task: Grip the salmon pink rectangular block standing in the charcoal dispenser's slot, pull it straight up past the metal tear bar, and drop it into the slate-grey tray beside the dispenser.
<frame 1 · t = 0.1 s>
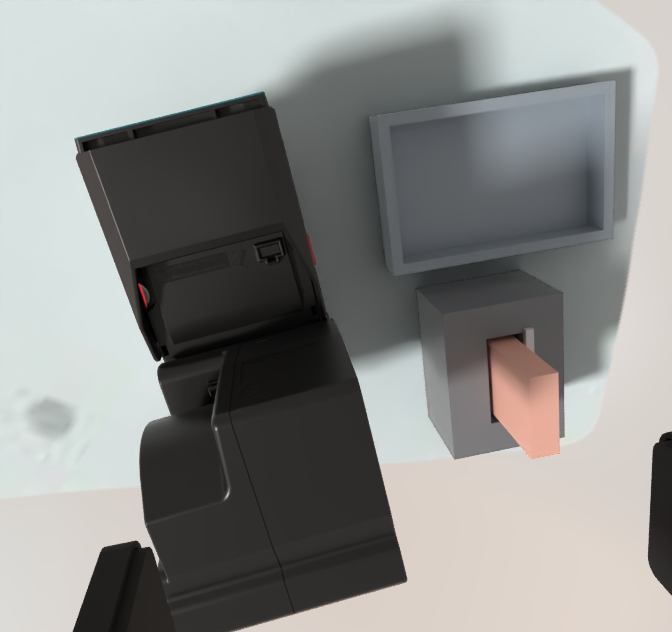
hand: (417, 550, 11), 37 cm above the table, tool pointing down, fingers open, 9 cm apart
bill acceptor: (242, 268, 46), on the table
tray: (486, 177, 46), on the table
dispenser: (473, 345, 51), on the table
salmon pink rectangular block: (477, 349, 50), point 1 cm above the table, touching dispenser
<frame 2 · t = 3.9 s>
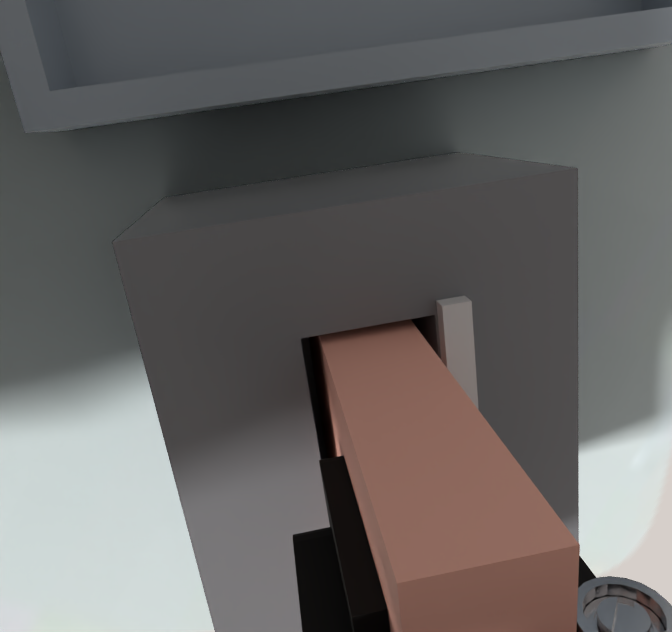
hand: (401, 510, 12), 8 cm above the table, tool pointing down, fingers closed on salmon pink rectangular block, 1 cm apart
dispenser: (341, 356, 20), on the table
salmon pink rectangular block: (343, 356, 18), point 1 cm above the table, touching gripper
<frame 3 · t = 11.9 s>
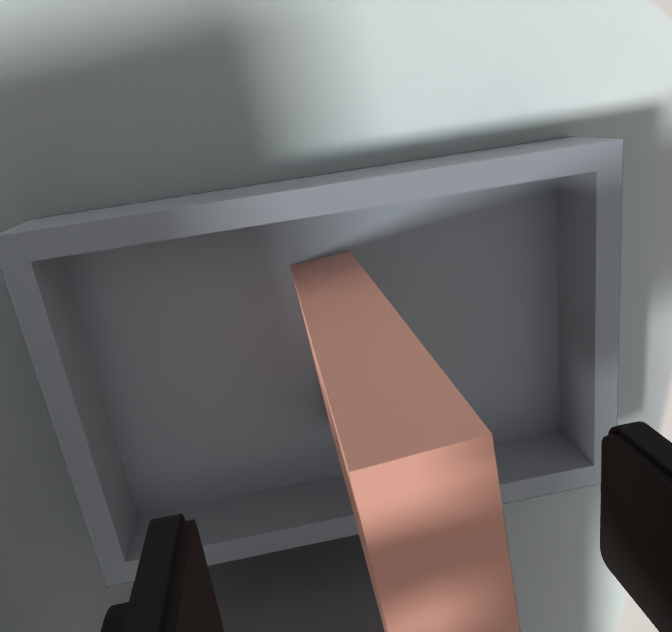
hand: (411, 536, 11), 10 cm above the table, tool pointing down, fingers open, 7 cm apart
tray: (335, 342, 21), on the table
salmon pink rectangular block: (339, 341, 20), point 1 cm above the table, touching tray
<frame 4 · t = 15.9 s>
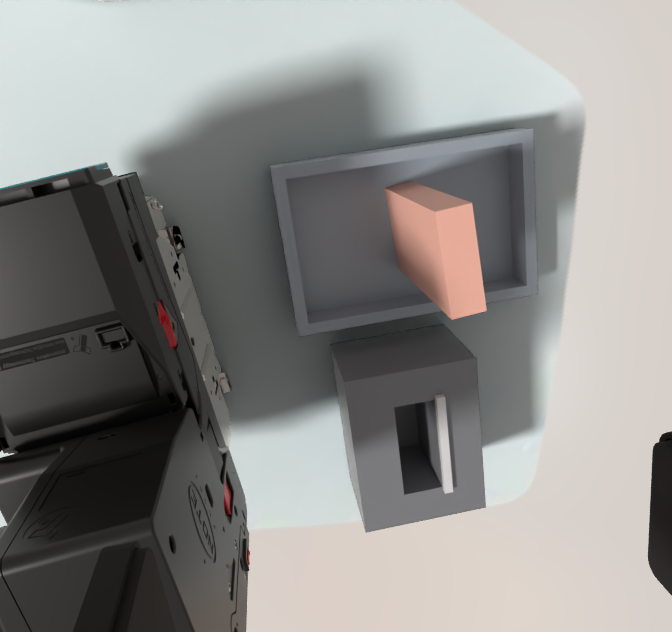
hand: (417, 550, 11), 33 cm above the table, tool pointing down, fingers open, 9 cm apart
bill acceptor: (139, 325, 43), on the table
tray: (402, 228, 43), on the table
dispenser: (395, 403, 47), on the table
salmon pink rectangular block: (405, 226, 42), point 1 cm above the table, touching tray
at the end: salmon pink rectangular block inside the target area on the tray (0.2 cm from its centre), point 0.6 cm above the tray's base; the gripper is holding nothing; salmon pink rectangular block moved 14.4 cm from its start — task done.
